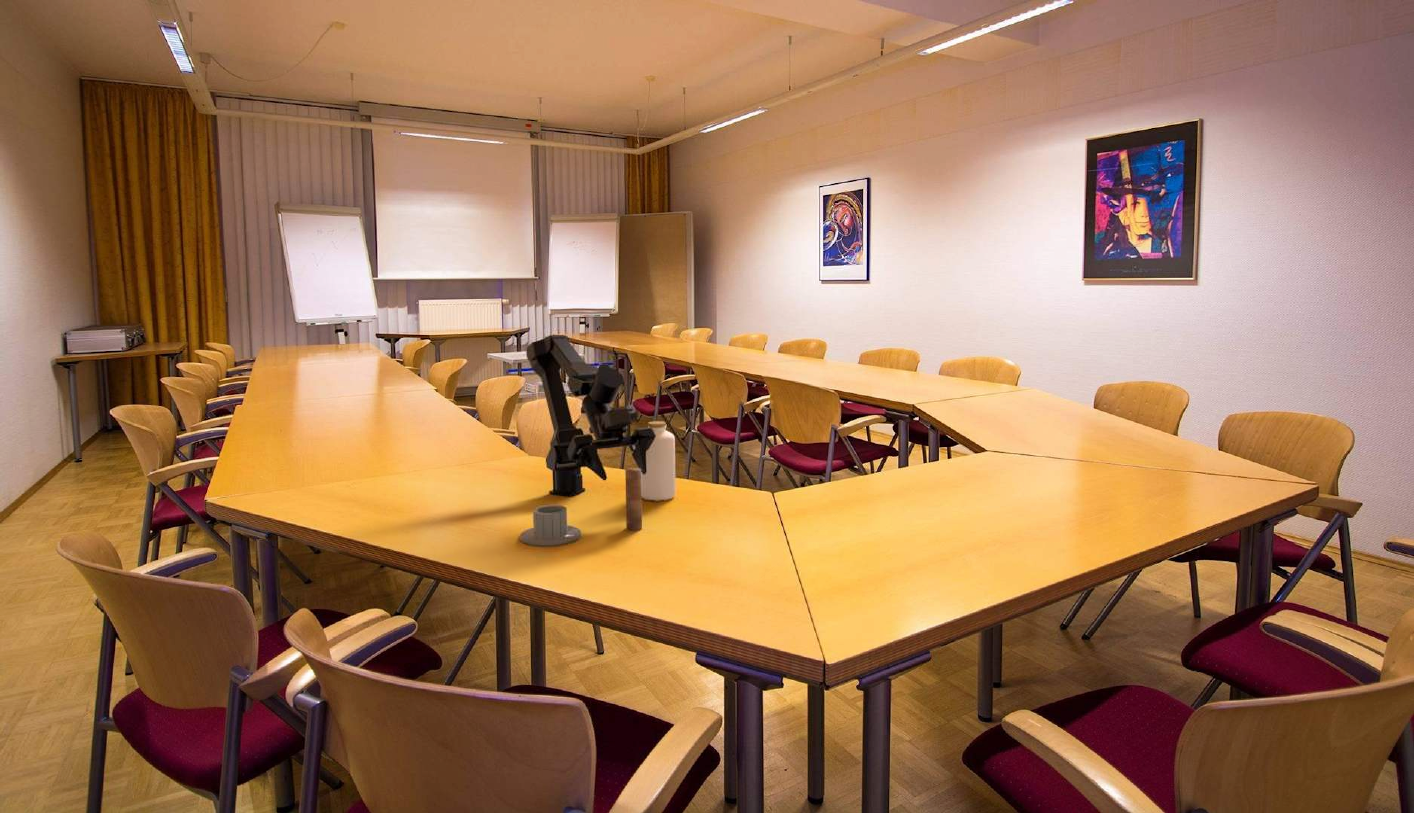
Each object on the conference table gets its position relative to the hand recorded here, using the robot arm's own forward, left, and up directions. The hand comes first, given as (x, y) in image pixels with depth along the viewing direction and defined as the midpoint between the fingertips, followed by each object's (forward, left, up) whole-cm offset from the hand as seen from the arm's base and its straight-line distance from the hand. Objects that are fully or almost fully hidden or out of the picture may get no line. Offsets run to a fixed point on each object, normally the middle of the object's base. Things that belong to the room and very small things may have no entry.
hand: (625, 476), depth 161 cm
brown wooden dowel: (+3, -2, -10) cm, 11 cm away
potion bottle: (-5, +21, -11) cm, 24 cm away
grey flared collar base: (-9, -14, -10) cm, 19 cm away
